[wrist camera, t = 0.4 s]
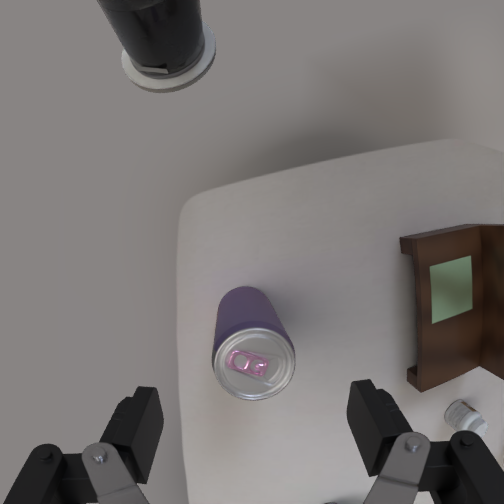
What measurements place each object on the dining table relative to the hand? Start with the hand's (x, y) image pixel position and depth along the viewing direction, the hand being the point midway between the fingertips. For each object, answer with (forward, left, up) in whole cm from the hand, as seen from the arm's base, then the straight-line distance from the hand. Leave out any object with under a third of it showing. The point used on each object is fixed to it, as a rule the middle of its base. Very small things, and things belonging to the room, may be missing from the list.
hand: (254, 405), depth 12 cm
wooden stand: (+7, +26, -24) cm, 36 cm away
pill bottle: (+27, +30, -24) cm, 47 cm away
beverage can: (+2, 0, -24) cm, 24 cm away
